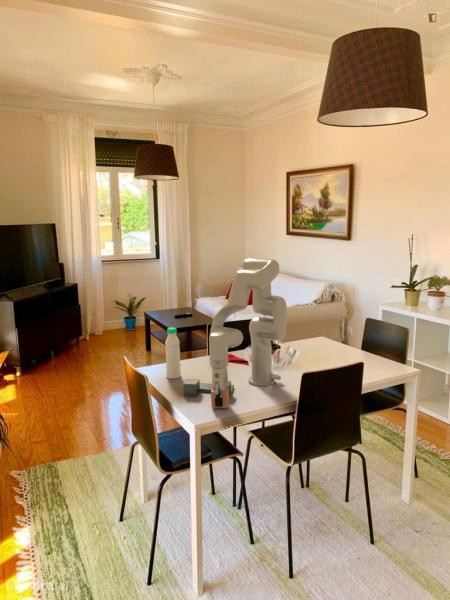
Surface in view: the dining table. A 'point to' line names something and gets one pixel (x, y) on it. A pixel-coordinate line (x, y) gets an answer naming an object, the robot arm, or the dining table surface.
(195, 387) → the gray dumbbell
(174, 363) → the water bottle
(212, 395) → the block
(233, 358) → the cloth
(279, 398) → the dining table surface
